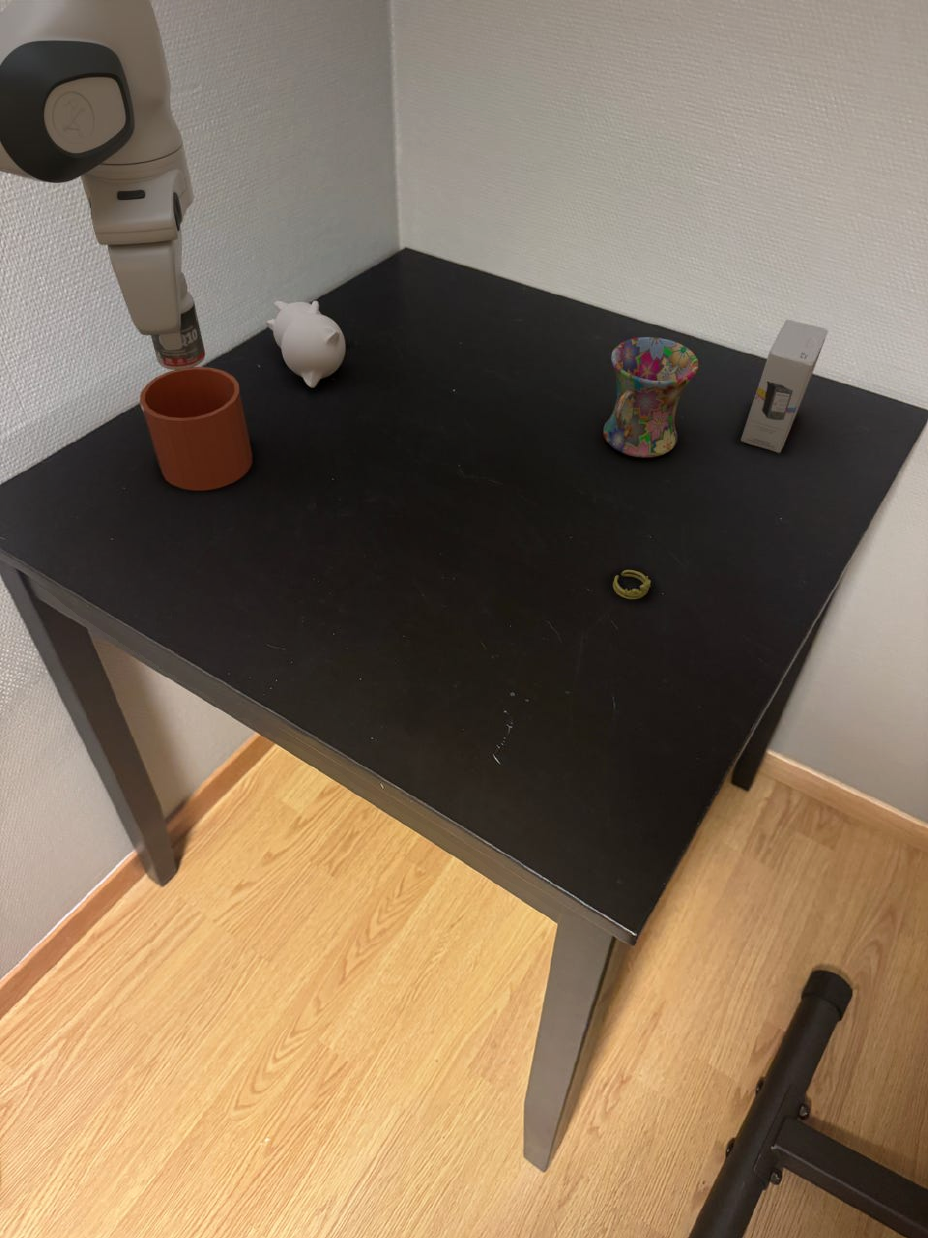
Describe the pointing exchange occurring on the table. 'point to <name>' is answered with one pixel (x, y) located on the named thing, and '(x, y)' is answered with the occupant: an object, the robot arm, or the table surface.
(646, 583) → the ring
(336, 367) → the cat figurine
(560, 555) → the table surface
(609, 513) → the table surface
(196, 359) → the pill bottle
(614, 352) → the mug
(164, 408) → the cup
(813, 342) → the ink box
